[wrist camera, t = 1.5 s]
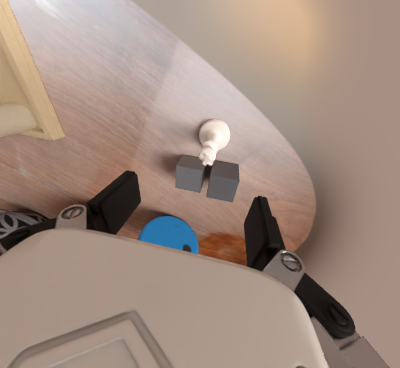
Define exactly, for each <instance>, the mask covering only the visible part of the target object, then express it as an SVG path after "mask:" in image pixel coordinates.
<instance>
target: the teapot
mask: <svg viewBox="0 0 400 368" xmlns="http://www.w3.org/2000/svg"><path fill="white" fill-rule="evenodd" d="M44 221H47V219H46V218H44V217H43V216H41V215H39V214H36V213H34V212H31V211H26V210H23V211H19V210H11V211H8V210H4V209H0V243H1V242H2V240H3V239H4V238H5V237H6V236H7V235H8V234H10V233H11V232H13V231H15V230H17V229H20V228H22V227H26V226H29V225H33V224H37V223H40V222H44Z"/></svg>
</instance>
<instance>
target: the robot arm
mask: <svg viewBox="0 0 400 368" xmlns="http://www.w3.org/2000/svg"><path fill="white" fill-rule="evenodd" d="M140 202H141V197H140V191H139V184H138V177H137V174H135V172H133V171H125V172H124V173H123V174H122V175H120V176H119V177H118V178H117V179H115V180H114V181H113V182H112V183H111V184H109V185H108V186H107V187H106V188H105V189H103V190H102V191H101V192H100V193H98V194H97V195H96V196H95V197H94V198H92V199H91V200H90V201H89V202H88V203H87V204H88V205H87V206H84V205H80V204H77V205H72V206H69V207H67V208H65V209H63V210H62V211H61V212H60V213H59V214H58V217H57V218H54V219H51V220H47V221H44V222H40V223H37V224H33V225H29V226H26V227H22V228H20V229H17V230H15V231H13V232H11V233H10V234H8V235H7V236H6V237H5V238H4V239H3V240H2V242H1V243H0V368H328V367H327V364H326V361H327V363H328V364H329V366H330V368H389V366H388V365H387V364H386V363H385V362H384V360H383V359H382V358H381V357H380V356H379V354H378V353H377V352H376V351H375V350H374V348H373V347H372V346H371V345H370V344H369V343H368V341H367V340H366V339H365V338H364V337H363V336H362V337H360V336H359V334H358V333H357V332H356V331H355V325H354V322H353V320H352V318H351V316H350V315H349V313H348V312H347V310H346V309H345V308H344V307H343V306H341V304H340V303H339V302H337V301H336V300H335V299H334V298H333V297H332V296H331V295H330V294H328V293H327V292H326V291H325V290H324V289H323V288H322V287H321V286H319V285H318V284H317V283H316V282H315V281H314V280H313V279H311V278H310V277H309V276H308V275H307V274H306V273H305V265H304V263H303V261H302V260H301V259H300V257H298V256H297V255H296V254H295V253H293V252H292V251H289V250H286V249H285V245H284V242H283V239H282V236H281V233H280V230H279V227H278V224H277V221H276V218H275V217H273V216H272V214H271V211H270V207H269V204H268V201H267V198H266V197H262V196H258V197H255V198H254V200H253V203H252V205H251V207H250V210H249V212H248V215H247V217H246V219H245V222H244V230H245V242H246V254H247V266H248V267H246V266H243V265H239V264H235V263H232V262H228V261H224V260H220V259H216V258H212V257H207V256H203V255H199V254H195V253H191V252H186V251H182V250H178V249H174V248H169V247H165V246H161V245H157V244H152V243H148V242H144V241H139V240H135V239H131V238H126V237H122V236H117V235H116V234H117V232H118V231H119V230H120V229H121V227H122V226H123V225H124V223H125V222H126V221H127V219H128V218H129V217H130V216H131V214H132V213H133V212H134V210H135V209H136V208H137V206H138V205H139V204H140ZM322 351H323V352H322ZM323 353H324V354H323ZM325 360H326V361H325Z"/></svg>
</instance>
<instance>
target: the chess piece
mask: <svg viewBox="0 0 400 368" xmlns="http://www.w3.org/2000/svg"><path fill="white" fill-rule="evenodd" d="M229 138H230V131H229V128H228V126H227V125H226V124H225V123H224V122H223V121H221V120H218V119H212V120H208V121H207V122H205V123H204V124H203V125H202V127H201V129H200V132H199V139H200V142H201V144H202V149H201V151H200V153H199V159H200V160H202V161H203V163H202V164H203V165H205V166H206V164H209V165H210V166H212V164H213V162H214V160H215V158H216V153H217V151H218V150H221V149H222V148H224V147H225V146H226V145H227V143H228V141H229Z"/></svg>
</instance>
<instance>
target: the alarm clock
mask: <svg viewBox="0 0 400 368" xmlns="http://www.w3.org/2000/svg"><path fill="white" fill-rule="evenodd" d="M138 240H139V241H144V242H148V243H152V244H157V245H161V246H165V247H169V248H174V249H178V250H182V251H186V252H191V253H195V254H198V241H197V238H196V235H195V233H194V231H193V230H192V229H191V227H190V226H189V225H188V224H187V223H185V222H184V221H182V220H181V219H179V218H176V217H172V216H161V217H157V218H155V219H153V220H151V221H150V222H148V223H147V224H146V225H145V226H144V228H143V229H142V231H141V233H140V235H139V237H138Z"/></svg>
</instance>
